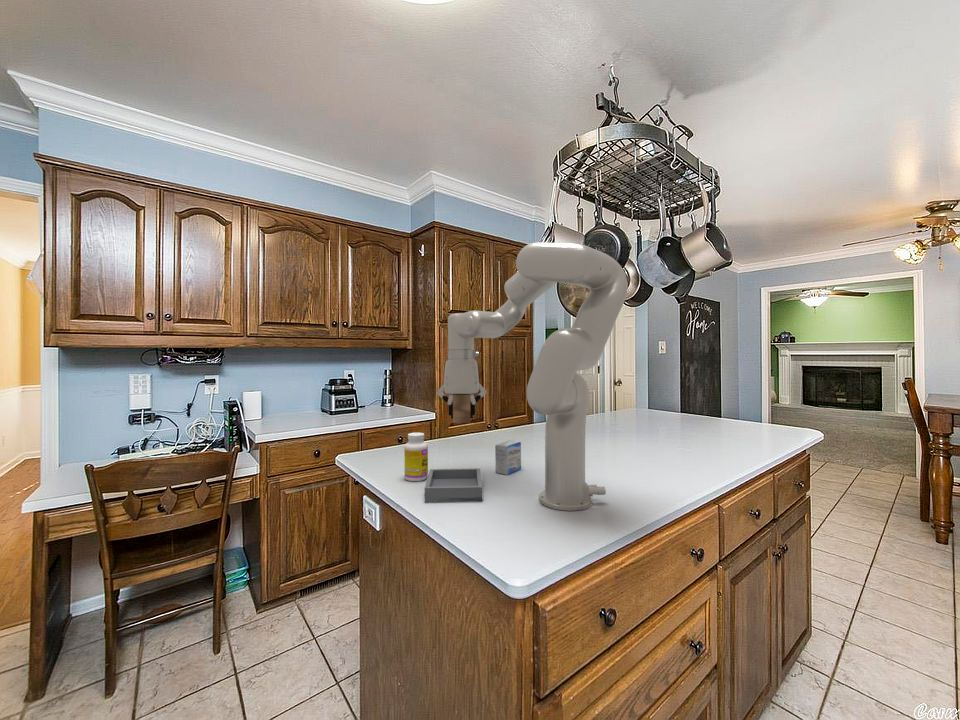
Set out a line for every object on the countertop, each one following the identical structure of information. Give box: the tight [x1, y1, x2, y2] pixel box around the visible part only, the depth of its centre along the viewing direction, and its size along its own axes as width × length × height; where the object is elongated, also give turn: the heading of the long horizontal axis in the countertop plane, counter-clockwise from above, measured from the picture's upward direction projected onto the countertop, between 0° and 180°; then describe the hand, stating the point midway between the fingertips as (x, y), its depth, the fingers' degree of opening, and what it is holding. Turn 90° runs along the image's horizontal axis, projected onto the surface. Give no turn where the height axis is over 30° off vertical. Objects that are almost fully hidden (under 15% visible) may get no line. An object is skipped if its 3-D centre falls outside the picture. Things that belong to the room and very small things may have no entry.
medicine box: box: [494, 439, 522, 476], centre depth 125 cm, size 8×4×9 cm, turn 143°
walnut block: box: [452, 395, 472, 424], centre depth 121 cm, size 5×5×8 cm
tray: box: [424, 467, 483, 504], centre depth 108 cm, size 14×16×4 cm
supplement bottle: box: [403, 432, 429, 482], centre depth 119 cm, size 7×7×13 cm
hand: (461, 417), depth 121 cm, fingers closed on walnut block, 5 cm apart
